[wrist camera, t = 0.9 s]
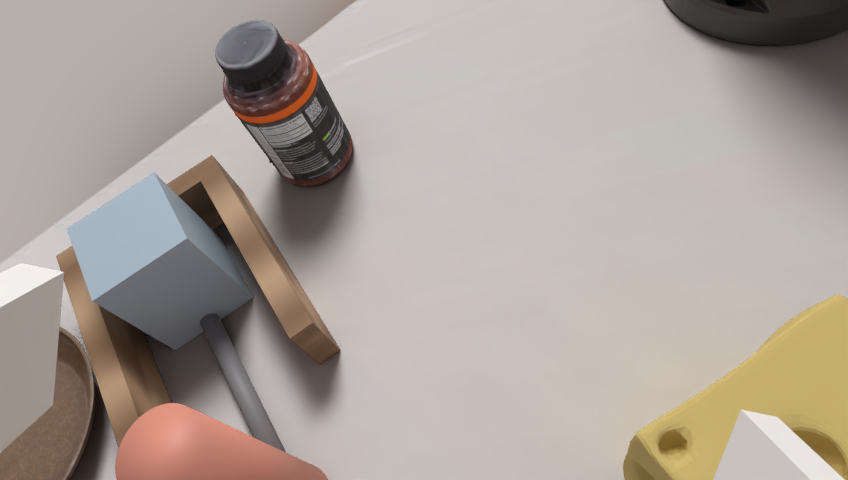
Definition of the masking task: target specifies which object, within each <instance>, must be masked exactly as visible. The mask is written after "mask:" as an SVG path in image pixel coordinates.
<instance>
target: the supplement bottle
mask: <svg viewBox="0 0 848 480" xmlns="http://www.w3.org/2000/svg"><path fill="white" fill-rule="evenodd" d="M215 56H216V60H217V62H218V64H219V65H220V67H221V68H222V69H223V72H224V73H225V77H224V82H223V93H224V97H225V99H226V101H227V103H228V104H229V106H230V107H231V108H232V110H233V111H234V113H235V115H236V116H237V117H238V118H239V119H240V120H241V122H242V124H243V125H244V126H245V128H246V129H247V130H248V131H249V133H250V134H251V136H252V137H253V138H254V139H255V141H256V142H257V143H258V145H259V146H260V147H261V149H262V150H263V151H264V153H265V154H266V155H267V157H268V158H269V160H270V163H271V162H272V164H273V165H274V166H275V167H276V169H277V170H278V172H279V173H280V174H281V175H282V176H283V177H284V178H285V179H286V180H287V181H289V182H291V183H293V184H296V185H300V186H313V185H318V184H321V183H324V182H327V181H328V180H331V179H332V178H334V177H335V176H336V175H337V174H338V173H339V172H341V171H342V169H343V168H344V167H345V166H346V164H347V163H348V161H349V159H350V156H351V153H352V139H351V135H350V133H349V131H348V129H347V128H346V125H345V124H344V122H343V120H342V118H341V116H340V114H339V112H338V110H337V109H336V107H335V105H334V103H333V101H332V99H331V97H330V95H329V93H328V91H327V90H326V88H325V86H324V84H323V82H322V80H321V78H320V76H319V74H318V73H317V71H316V69H315V67H314V65H313V63H312V61H311V59H310V58H309V56H308V54H307V53H306V52H305V50H304V49H302V48H301V47H300V46H299V45H297V44H295V43H293V42H290V41H286V40H283V39H282V38H281V36H280V35H279V33H278V31H277V29H276V28H275V26H273V24H271V23H270V22H267V21H264V20H251V21H247V22H243V23H241V24H239V25H237V26H235V27H233V28H231V29H230V30H229V31H228V32H226V33H225V34H224V35H223V37H222V38H221V39H220V40H219V42H218V44H217V47H216V52H215Z"/></svg>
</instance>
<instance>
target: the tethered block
mask: <svg viewBox="0 0 848 480" xmlns="http://www.w3.org/2000/svg"><path fill="white" fill-rule="evenodd" d="M67 231H68V234H69V237H70V240H71V243H72V245H73V248H74V251H75V254H76V257H77V260H78V263H79V265H80V268H81V271H82V274H83V277H84V280H85V282H86V285H87V288H88V291H89V294H90V297H91V299H92V301H93V302H94V303H96V304H98V305H99V306H101V307H103V308H104V309H106V310H108V311H110V312H111V313H113V314H115V315H116V316H118V317H120V318H121V319H123V320H125V321H126V322H128V323H130V324H131V325H133V326H135V327H137V328H138V329H140V330H142V331H143V332H145V333H147V334H148V335H150V336H152V337H153V338H155V339H157V340H159V341H160V342H162V343H164V344H165V345H167V346H169V347H170V348H172V349H174V350H175V351H176V350H177V349H179V348H180V347H182V346H183V345H185V344H186V343H187V342H189V341H190V340H192V339H193V338H195V337H196V336H198V335H199V334H201V333H202V332H204V333H205V335H206V337H207V339H208V341H209V343H210V346H211V348H212V350H213V352H214V354H215V356H216V358H217V360H218V363H219V365H220V367H221V369H222V371H223V373H224V375H225V378H226V380H227V382H228V384H229V386H230V388H231V390H232V392H233V395H234V397H235V399H236V401H237V403H238V405H239V407H240V410H241V412H242V414H243V416H244V418H245V420H246V422H247V424H248V427H249V429H250V431H251V433H252V435H253V437H251V436H249V435H247V434H245V433H243V432H241V431H239V430H237V429H234V428H232V427H230V426H228V425H226V424H224V423H222V422H220V421H217V420H215V419H213V418H211V417H209V416H207V415H205V414H202V413H200V412H198V411H196V410H194V409H192V408H190V407H187V406H185V405H182V404H179V403H167V404H162V405H159V406H156V407H154V408H152V409H150V410H149V411H147V412H145V413H144V414H143V415H142V416H140V417H139V418H138V419H137V420H136V421H135V422H134V423H133V424H132V426H131V427H130V428H129V430H128V431H127V433H126V434H125V436H124V438H123V440H122V442H121V444H120V447H119V450H118V453H117V457H116V478H117V480H328V479H327V477H326V475H325V474H324V473H323V472H322V471H321V470H320V469H319V468H317V467H315V466H313V465H311V464H309V463H307V462H305V461H303V460H301V459H298V458H296V457H294V456H292V455H290V454H288V453H286V452H285V449H284V447H283V445H282V443H281V441H280V439H279V437H278V435H277V433H276V431H275V429H274V427H273V425H272V423H271V421H270V419H269V417H268V415H267V413H266V411H265V409H264V407H263V405H262V403H261V401H260V399H259V397H258V395H257V393H256V391H255V389H254V387H253V385H252V383H251V381H250V379H249V377H248V375H247V373H246V371H245V369H244V367H243V365H242V363H241V361H240V358H239V356H238V354H237V352H236V350H235V348H234V346H233V344H232V342H231V340H230V338H229V336H228V334H227V332H226V330H225V328H224V326H223V324H222V322H221V319H223V318H224V317H225V316H227V315H228V314H230V313H231V312H233V311H234V310H236V309H237V308H239V307H240V306H241V305H243V304H244V303H246V302H247V301H249V300H250V299H252V298H253V295H252V294H251V292H250V290H249V288H248V286H247V285H246V283H245V281H244V279H243V277H242V275H241V274H240V272H239V270H238V268H237V266H236V264H235V263H234V261H233V259H232V257H231V255H230V253H229V252H228V250H227V248H226V246H225V244H224V243H223V241H222V239H221V237H220V236H219V235H218V234H217V233H216V232H215V231H214V230H213V229H212V228H210V227H209V226H208V225H207V224H206V223H205V222H204V221H203V220H202V219H201V218H200V217H199V216H198V215H197V214H196V213H195V212H194V211H193V210H192V209H191V208H190V207H189V206H188V205H187V204H186V203H185V202H184V201H183V200H182V199H181V198H180V197H179V196H178V195H177V194H176V193H175V192H174V191H172V190H171V189H170V188H169V187H168V186H167V185H166V184H165V183H164V182H163V181H162V180H161V179H160V178H159V177H158V176H157V175H156V174H155V173H153V174H151V175H150V176H148V177H146V178H145V179H143V180H142V181H140V182H139V183H137V184H136V185H134V186H132V187H131V188H129V189H128V190H126V191H125V192H123V193H122V194H120V195H118V196H117V197H115V198H114V199H112V200H111V201H109V202H108V203H106V204H105V205H103V206H101V207H100V208H98V209H97V210H95V211H94V212H92V213H91V214H89V215H87V216H86V217H84V218H83V219H81V220H80V221H78V222H77V223H75V224H73V225H72V226H70V227H69V228H67Z"/></svg>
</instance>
